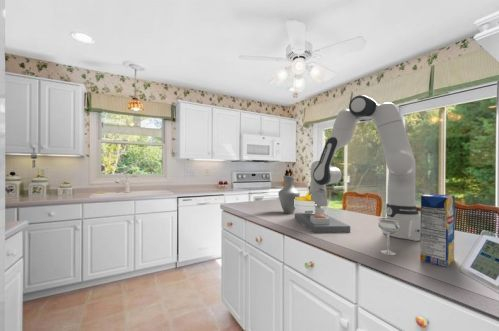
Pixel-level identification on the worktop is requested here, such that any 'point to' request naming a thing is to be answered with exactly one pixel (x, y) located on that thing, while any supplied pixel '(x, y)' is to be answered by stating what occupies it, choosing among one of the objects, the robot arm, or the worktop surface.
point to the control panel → (322, 223)
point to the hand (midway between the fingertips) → (317, 211)
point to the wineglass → (388, 230)
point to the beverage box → (437, 229)
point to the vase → (288, 195)
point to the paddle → (319, 210)
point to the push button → (319, 216)
